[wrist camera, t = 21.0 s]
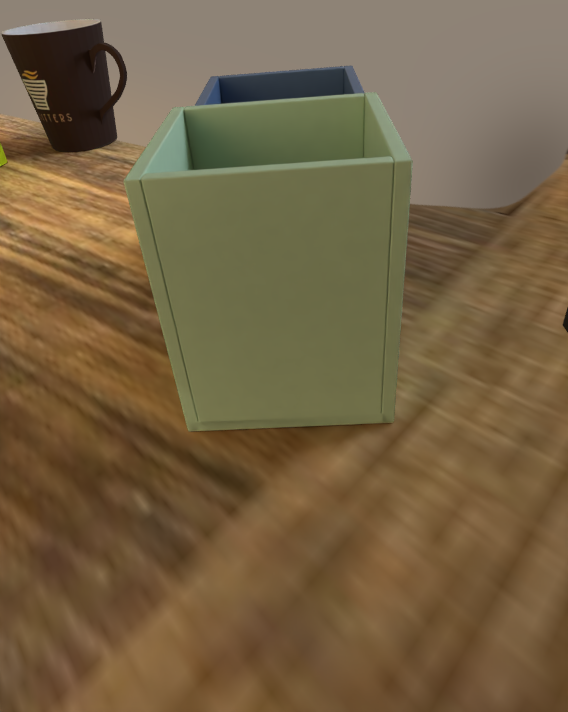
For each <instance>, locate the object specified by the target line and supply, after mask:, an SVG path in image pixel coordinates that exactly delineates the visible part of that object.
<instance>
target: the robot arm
mask: <svg viewBox="0 0 568 712" xmlns="http://www.w3.org/2000/svg"><path fill="white" fill-rule="evenodd" d="M563 327H564V328H565V329H566V331H567V332H568V308H567V312H566V315H565V319H564V322H563Z"/></svg>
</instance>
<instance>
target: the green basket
mask: <svg viewBox="0 0 568 712" xmlns="http://www.w3.org/2000/svg"><path fill="white" fill-rule="evenodd" d="M412 165H413V161H412V159H411V157H410V155H409V153H408V151H407V150H406V148H405V146H404V144H403V142H402V140H401V138H400V136H399V134H398V133H397V131H396V129H395V127H394V125H393V123H392V121H391V119H390V117H389V116H388V114H387V112H386V110H385V108H384V106H383V104H382V102H381V100H380V99H379V97H378V95H377V93H376V92H370V93H364V94H363V93H357V94H344V95H331V96H318V97H305V98H292V99H279V100H266V101H252V102H239V103H226V104H213V105H200V106H187V107H185V108H184V107H174V108H173V109H172V110H171V111H170V113H169V114H168V116H167V117H166V119H165V120H164V122H163V123H162V125H161V126H160V128H159V129H158V131H157V132H156V134H155V135H154V136H153V138H152V140H151V141H150V142H149V144H148V145H147V147H146V148H145V150H144V151H143V153H142V154H141V156H140V157H139V159H138V160H137V162H136V163H135V165H134V166H133V168H132V169H131V170H130V172H129V173H128V175H127V176H126V178H125V179H124V185H125V189H126V193H127V197H128V200H129V204H130V208H131V212H132V216H133V220H134V224H135V228H136V231H137V235H138V239H139V243H140V247H141V251H142V255H143V258H144V262H145V266H146V270H147V274H148V278H149V282H150V285H151V289H152V293H153V297H154V301H155V305H156V309H157V312H158V316H159V320H160V324H161V328H162V332H163V336H164V340H165V343H166V347H167V351H168V355H169V359H170V363H171V367H172V370H173V374H174V378H175V382H176V386H177V390H178V394H179V397H180V401H181V405H182V409H183V413H184V417H185V421H186V424H187V428H188V431H212V430H235V429H258V428H280V427H303V426H326V425H349V424H372V423H393V422H394V414H395V400H396V386H397V372H398V358H399V345H400V331H401V317H402V303H403V289H404V275H405V262H406V248H407V234H408V220H409V206H410V192H411V178H412Z"/></svg>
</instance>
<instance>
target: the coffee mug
mask: <svg viewBox="0 0 568 712" xmlns="http://www.w3.org/2000/svg"><path fill="white" fill-rule="evenodd" d="M1 34H2V37H3V39H4V41H5V43H6V45H7V48H8V50H9V52H10V54H11V57H12V59H13V61H14V63H15V65H16V68H17V70H18V72H19V74H20V77H21V79H22V81H23V83H24V85H25V88H26V90H27V92H28V94H29V96H30V99H31V101H32V103H33V105H34V108H35V110H36V112H37V114H38V116H39V119H40V121H41V123H42V125H43V128H44V130H45V132H46V134H47V136H48V139H49V141H50V143H51V145H52V147H53V149H54V150H56V151H61V152H78V151H86V150H91V149H96V148H99V147H103V146H105V145H108V144H110V143H112V142H114V141H115V140H116V139H117V132H116V125H115V118H114V110H113V106H114V104H115V103H116V102H117V101H118V100H119V98H120V97H121V95H122V92H123V90H124V88H125V85H126V81H127V71H126V67H125V64H124V61H123V59H122V56H121V55H120V53H119V52H118V51H117V50H116V49H115V48H114V47H113V46H111V45H109V44H107V43H104V39H103V32H102V25H101V21H100V20H95V19H81V20H66V21H57V22H48V23H40V24H34V25H28V26H22V27H18V28H13V29H9V30H6V31H3V32H1ZM105 51H107V52H108V53H110V54H111V55H112V56H113V58H114V59H115V61H116V62H117V65H118V67H119V72H120V80H119V84H118V87H117V90H116V92H115V93H114V94H113V96H111V89H110V82H109V75H108V68H107V61H106V54H105Z"/></svg>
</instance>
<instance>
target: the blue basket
mask: <svg viewBox="0 0 568 712" xmlns="http://www.w3.org/2000/svg"><path fill="white" fill-rule="evenodd" d="M357 93H363V94H364V91H363V89H362V86H361V84H360V82H359V80H358V77H357V75H356V73H355V71H354V69H353V66H344V67H343V66H340V67H329V68H328V67H327V68H316V69H302V70H289V71H277V72H265V73H253V74H239V75H226V76H213V77H211V78H210V79H209V81H208V83H207V84H206V86H205V88H204V90H203V92H202V93H201V95H200V97H199V99H198V101H197V103H196V104H195V106H200V105H213V104H226V103H239V102H252V101H266V100H279V99H292V98H305V97H318V96H331V95H344V94H357Z"/></svg>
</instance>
